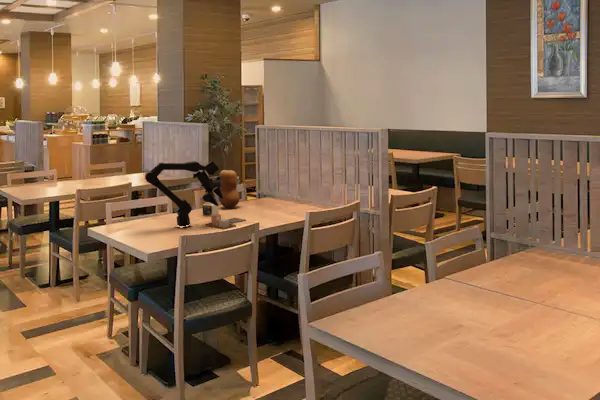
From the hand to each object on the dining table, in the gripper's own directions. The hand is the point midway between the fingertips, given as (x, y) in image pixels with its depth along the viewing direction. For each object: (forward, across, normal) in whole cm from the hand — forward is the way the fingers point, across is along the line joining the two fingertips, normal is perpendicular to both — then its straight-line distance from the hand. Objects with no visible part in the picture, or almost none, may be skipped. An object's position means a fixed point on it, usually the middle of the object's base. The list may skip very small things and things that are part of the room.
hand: (220, 202), depth 344 cm
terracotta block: (+9, -9, +5) cm, 14 cm away
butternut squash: (+18, +40, +20) cm, 48 cm away
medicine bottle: (+10, +18, +21) cm, 29 cm away
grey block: (+10, -13, 0) cm, 17 cm away
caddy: (+9, -11, +2) cm, 15 cm away
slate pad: (+14, +2, +1) cm, 15 cm away
